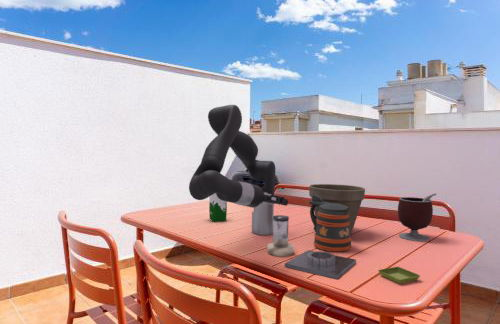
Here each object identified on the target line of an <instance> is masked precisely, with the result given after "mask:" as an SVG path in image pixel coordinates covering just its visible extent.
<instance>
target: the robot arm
mask: <svg viewBox="0 0 500 324" xmlns="http://www.w3.org/2000/svg"><path fill="white" fill-rule="evenodd" d="M207 120H208V123H209V126H210V127H211V129H212V131H213V132H214V133H215V134H216V136H215V137H214V138H213V139H212V140H211V141H210V143H208V145H207V146H206V147H205V149H204V153H203V155H202V158H201V161H200V164H199V165H198V167H197V168H196V170H195V171H194V173H193V175H192V176H191V178H190V180H189V184H188V189H189V191H188V192H189V194H190V196H191V197H192V198H193V199H195V200H197V201H203V200H206V199H208V198H209V196H211V195H213V194H215V193H216V195H217V197H218V198H219V199H220V200H223V201H226V202H227V203H231V204H232V203H233V204H235V205H237V206H243V207H249V208H253V211H252V212H251V233H253V234H255V235H260V236H270V235H273V216H275V212H274V211H275V209H274V208H275V205H279V206H284V207H285V206H288V205H289V200H288V198H286V197H284V196H279V195H276V194H275V184H276V164H275V162H274V161H272V160H258V159H257V156H258V153H259V148H258V146H257V143H256V142H255V141H254V139H253V138H252V137H251V136H250V135H249V134H247V133H245V132H243V131H240V129H241V126H242V122H243V116H242V111H241V109H240V107H239V106H238V105H236V104H227V105H222V106H216V107H214V108H212V109H210V110H209V111H208V114H207ZM230 149H231V150H232V152H233V153H234V155H236V157H237V158H238V160H240V161H241V163H242V164H243V165H244V167H245V168H246V171H248V173H249V175H250V177H251V178H252V179H253V180H255V181H262V182H264V185H262V186H261V187H260V186H259V185H257V184H252V183H249V182H244V181H239V180H238V181H237V180H234V179H229V178H228V177H227V176H225V175H224V174H222V170H223V168H224V165H225V161H226V158H227V155H228V151H229V150H230Z"/></svg>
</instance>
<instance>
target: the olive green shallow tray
mask: <svg viewBox="0 0 500 324" xmlns="http://www.w3.org/2000/svg"><path fill="white" fill-rule="evenodd" d="M377 271H378V273H379V274H380V275H381V277H383V278H386V279H388V280H390V281H392V282H394V283H397V284H399V285H401V284H405V283H411V282H414V281H415V282H416V280H418V279H420V277H421V275H420V274H418V273H416V272H412V271H411V270H408V269H405V268H403V267H401V266H393V267H387V268H381V269H378V270H377Z"/></svg>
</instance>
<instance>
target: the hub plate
mask: <svg viewBox="0 0 500 324" xmlns="http://www.w3.org/2000/svg"><path fill="white" fill-rule="evenodd" d="M356 263H357V259H355V258H351V257H350V258H349V257H345V256H342V255H341V256H340V255H335V254H333V253H331V252H329V251H321V250H320V251H317V250H316V251H314V250H309V249H307V250H306V251H305V252H302V253H300V254H298V255H297V256H295V257H293V258H291V259H290V260H288V261H287V262H284V268H288V269H293V270H296V271H301V272H305V273H309V274H314V275H317V276H318V275H319V276H323V277H326V278H330V279H335V280H338V279H339V278H340V277H342V275H344V274H345V273H346V272H347V271H349V270H350V269H351V268H352V267H353V266H355V265H356Z"/></svg>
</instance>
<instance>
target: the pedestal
mask: <svg viewBox="0 0 500 324" xmlns="http://www.w3.org/2000/svg"><path fill="white" fill-rule="evenodd" d="M266 246H267V247H266V248H267V254H268V255H270V256H273V257H283V258H284V257H290V256H293V255H294V253H295V245H294V244H292V243H289V242H288V247H286V248H277V247H274V246H273V242H270V243H268V244H267V245H266Z"/></svg>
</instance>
